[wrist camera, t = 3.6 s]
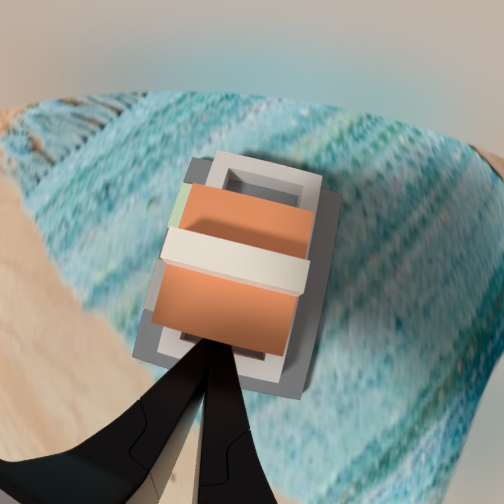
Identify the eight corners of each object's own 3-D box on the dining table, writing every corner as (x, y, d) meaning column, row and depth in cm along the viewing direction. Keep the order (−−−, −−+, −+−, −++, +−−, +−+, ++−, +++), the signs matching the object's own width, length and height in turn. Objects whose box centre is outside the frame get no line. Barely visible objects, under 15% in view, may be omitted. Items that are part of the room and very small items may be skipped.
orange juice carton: (257, 340, 17) (288, 359, 7) (196, 324, 17) (141, 321, 7) (274, 271, 18) (321, 201, 8) (214, 256, 18) (189, 169, 8)
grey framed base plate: (297, 397, 17) (305, 406, 15) (136, 355, 17) (123, 359, 15) (338, 198, 20) (349, 183, 18) (193, 163, 20) (189, 144, 18)
